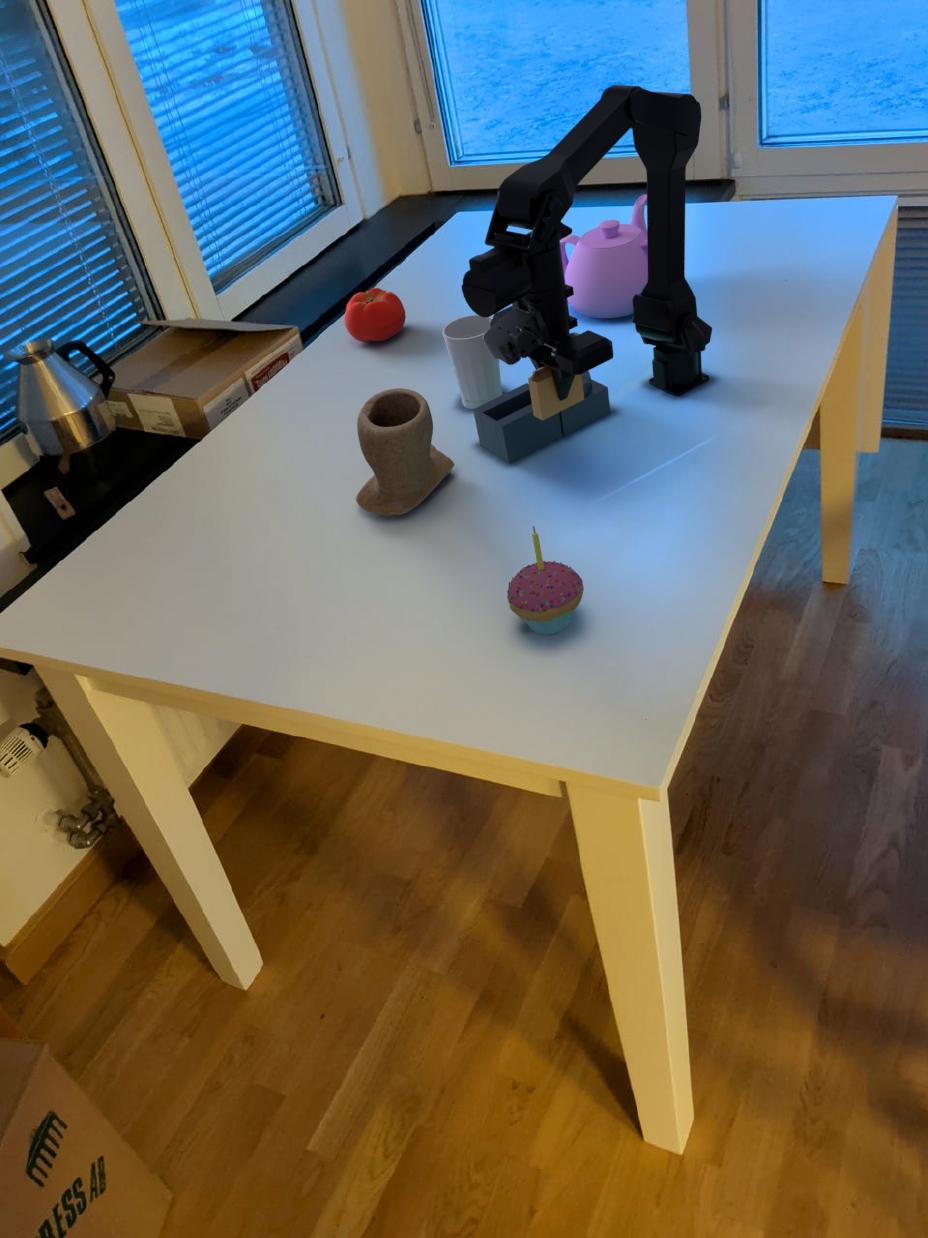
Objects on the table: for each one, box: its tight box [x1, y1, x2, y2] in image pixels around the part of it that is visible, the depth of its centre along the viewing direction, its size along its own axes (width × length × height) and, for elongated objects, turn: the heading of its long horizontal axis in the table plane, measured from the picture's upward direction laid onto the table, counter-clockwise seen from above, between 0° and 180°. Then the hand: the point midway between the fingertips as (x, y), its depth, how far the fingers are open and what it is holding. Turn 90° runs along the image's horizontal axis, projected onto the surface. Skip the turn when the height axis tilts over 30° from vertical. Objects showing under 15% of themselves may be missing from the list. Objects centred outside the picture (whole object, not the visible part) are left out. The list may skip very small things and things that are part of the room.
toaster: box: [472, 382, 563, 464], centre depth 149 cm, size 9×7×6 cm
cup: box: [442, 314, 504, 410], centre depth 159 cm, size 8×8×12 cm
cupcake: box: [506, 525, 584, 636], centre depth 116 cm, size 9×8×12 cm
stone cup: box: [355, 387, 455, 517], centre depth 142 cm, size 15×12×15 cm
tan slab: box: [527, 365, 584, 421], centre depth 138 cm, size 7×2×6 cm, turn 123°
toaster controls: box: [559, 370, 611, 437], centre depth 152 cm, size 8×8×6 cm
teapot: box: [560, 193, 648, 319], centre depth 177 cm, size 22×22×14 cm
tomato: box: [343, 287, 407, 343], centre depth 186 cm, size 11×11×8 cm
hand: (557, 396), depth 139 cm, fingers closed on tan slab, 2 cm apart
